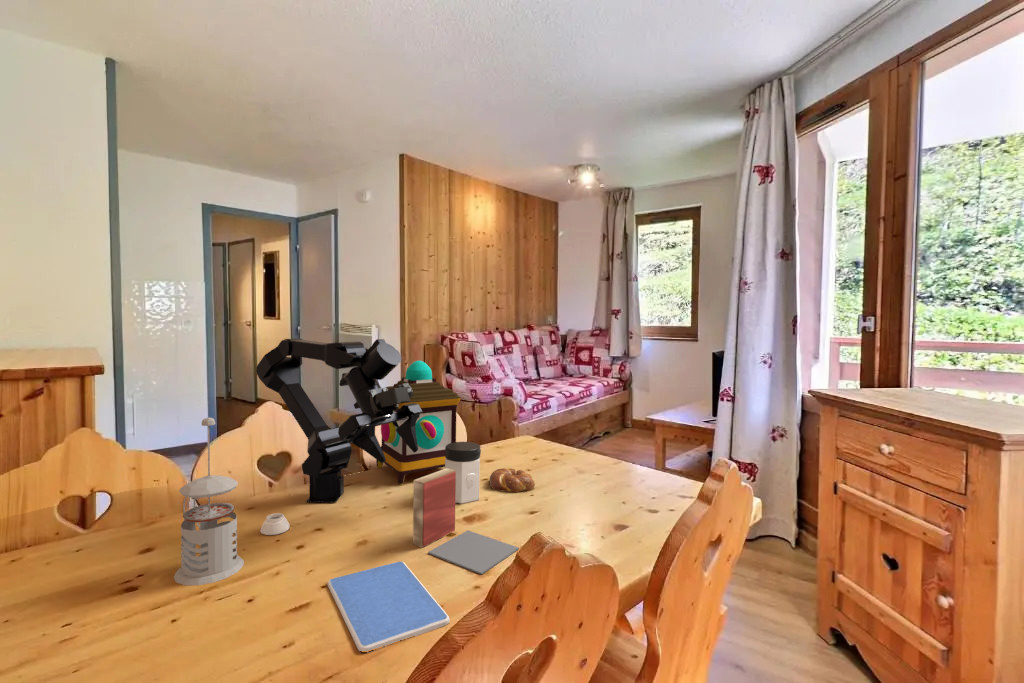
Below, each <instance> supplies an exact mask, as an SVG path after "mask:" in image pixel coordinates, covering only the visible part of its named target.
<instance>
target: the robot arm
mask: <svg viewBox="0 0 1024 683" xmlns="http://www.w3.org/2000/svg"><path fill="white" fill-rule="evenodd" d="M289 356H290V357H289ZM303 358H304V359H305V358H306V359H310V360H311V359H312V360H317V361H318V360H319V361H322V362H324V363H325V365H326V366H328V367H331V368H333V369H336V370H342V369H343V370H344V369H350V370H349V371H348V372H344V373H342V374H341V378H340V381H339V386H340V387H346V386H348V388H349V390H350V391H351V393H352V395H353V397H354V399H355V403H354V404H353V407H354V409H360V411H361V413H357V414H352V415H350V416H349V417H348V418H347V419H346V420H345V421H344V422H343V423H342V424H340V426H338V427H333V428H331V427H330V426H328V424H327V422H326V421H325V420H324V418H323V417H322V415H321V414H320V412H319V411H318V409H317V408H316V406H315V404H314V403H313V402H312V400H311V398H310V397H309V396H308V394H307V393H306V391H305V390H304V388H303V386H302V385H301V383H300V382H299V378H300V370H299V369H300V368H301V367H302V365H303ZM401 361H402V355H401V352H399V350H397V349H396V348H395V347H394V346H392V345H391V344H389V343H388V342H386V340H385V339H384V338H381V339H379V338H378V339H376V340H374V342H373V343H372V344H371V346H370V347H369V348H367V347H365V345H364V343H363V342H361V341H357V340H356V341H341V342H340V341H338V342H322V341H315V340H306V339H302V338H301V337H300V338H284V339H282V340H281V341H280V342H279V344H278V345H277V346H275V348H273V349H271V350H270V351H269V352H267V353H265V354H264V355H263V357H262V358H261V359H260V361H259V363H258V364H257V366H256V369H255V370H256V371H255V372H256V375H257V377H258V379H259V380H260V381H261V382H262V384H264V386H265V387H266V388H268V389H270V390H271V391H273V392H276V393H277V394H278V395H279V396H280V397H281V399H282V401H283V402H284V404H285V405H286V407H287V408H288V410H289V411H290V413H291V415H292V416H293V418H294V419H295V421H296V423H297V424H298V426H299V427H300V429H301V430H302V431H303V433H304V435H305V437H306V438H307V451H306V452H307V454H308V457H307V458H306V459H305V460H304V461H303V462H302V464H301V468H302V469H301V470H302V474H304V475H307V476H309V478H308V479H309V480H308V482H309V483H308V484H309V486H308V487H309V494H308V495H309V497H307V499H306V503H337V501H339V499H340V498H341V497H342V495H343V494H344V493H345V488H344V487H345V486H344V485H345V483H344V482H345V477H344V475H342V470H343V469H347V468H348V467H349V462H350V459H351V455H352V446H351V444H353V445H354V446H356V447H357V448H360V449H361V450H363V451H364V452H365V453H367V454H369V455H370V456H371V457H373V458H374V459H375V460H376V459H377V460H378V461H379V462H381V463H383V464H385V463H384V462H385V461H386V459H385V456H384V453H383V451H382V449H381V444H380V442H379V441H378V440H379V439H378V438H377V436H376V427H379V426H381V425H384V424H388V423H393V425H394V426H396V427H398V428H397V429H396V431H397V433H398V434H399V435H400V436H401V438H402V439H403V440H404V441H405V443H406V444H407V445H408V446H409V448H410V449H411V450H412V451H413V452H414V453H415V452H417V451H418V444H417V437H416V429H415V424H416V421H417V419H418V418H419V417H420V414H421V413H422V410H421V408H420V406H419V404H416V403H411V404H406V405H403V406H402V407H401V408H400V409H399V410H398V411H397V412H395V413H393V410H396V409H397V408H398V407H399V406H398V404H400V403H403V402H410V397H412V396H413V390H412V388H411V387H410V385H409V384H408V383H404V384H402V385H398V386H397V388H394V389H390V390H388V389H387V388H385V387H381V385H380V383H379V380H380V381H382V380H384V379H385V378H386V377H387V376H388V375H389V373H391V372H392V371H393V370H394V369H395V368H396V367H397V366H398V365H399V364H400V363H401Z"/></svg>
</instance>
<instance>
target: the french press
mask: <svg viewBox="0 0 1024 683" xmlns="http://www.w3.org/2000/svg"><path fill="white" fill-rule="evenodd" d="M214 425H216V421H215V419H214V418H213V417H205V418H204V419H202V420H201V426H203V427H207V475H206V476H205V475H204V476H202V477H199V478H195V479H193V480H191V481H189V482H188V483H186V484H185V485H183V486H182V487H181V488H179V490H178V492H179V493H180V494H181V495H182V496H183V497H184V499H183V503H182V504H183V505H182V507H183V508H182V512H183V513H182V518H183V521H182V522H181V525H180V534H181V536H180V537H181V538H180V542H181V544H180V546H181V547H180V550H181V554H180V555H181V556H180V558H181V559H180V560H181V562H180V563H181V566H180V567H179V568H178V569H177V571H176V572H175V574H174V576H173V579H174V581H175V583H177V584H180V585H184V586H201V585H208V584H213V583H216V582H219V581H222V580H226V579H228V578H229V577H232V575H235V574H237V573H238V572H239V571H241V569H242V568H243V567H244V563H245V560H244V559H243V558H242V557H241V556H239V554H238V515H237V514H236V513H235V512H234V510H235V506H234V505H233V504H232V503H228V502H214V503H212V502H211V497H215V496H221V495H224V494H227V493H230V492H232V491H233V490H235V489H236V488H237V486H238V484H239V481H237V480H235V479H234V478H232V477H229V476H225V475H211V462H210V461H211V460H210V458H211V457H210V456H211V455H210V453H211V452H210V438H211V437H210V426H214ZM187 498H191V500H193V507H191V508H189V509H188V510H186V508H185V507H186V499H187ZM203 498H208V499H207V500H208V501H207V502H208V503H207V504H200V505H196V503H197V501H196V500H198V499H203ZM225 518H230V519H232V521H231V520H225V521H220V522H219V523H218V521H219V520H221V519H225ZM196 524H197V527H198V530H196ZM233 542H234V544H233ZM196 545H198V546H200V548H197V546H196ZM196 554H200V555H198V556H197V555H196Z"/></svg>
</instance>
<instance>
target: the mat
mask: <svg viewBox="0 0 1024 683" xmlns="http://www.w3.org/2000/svg"><path fill="white" fill-rule="evenodd" d="M518 549H520V547H518V546H515V545H513V544H510V543H508V542H507V543H506V542H503V541H501V540H498V539H494V538H492V537H489V536H485V535H483V534H480V533H477V532H474V531H471V530H465V531H463V532H462V533H461V534H458V535H457V536H455V537H453V538H451V539H449V540H448V541H445V542H444V543H442V544H440V545H438V546H437V547H435V548H432V549H431V550H429V551H428V552H427V553H428V555H430V556H433V557H436V558H438V559H441V560H443V561H446V562H449V563H451V564H453V565H456V566H459V567H461V568H464V569H466V570H468V571H471V572H474V573H475V574H478V575H484V574H485V573H487V572H489V571H490V570H491V569H492V568H494V567H496V566H497V565H498V564H500V563H501V562H502V561H504V560H505V559H507V558H508V557H510V556H512V555H513V554H514V553H516V552H517V551H518Z"/></svg>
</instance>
